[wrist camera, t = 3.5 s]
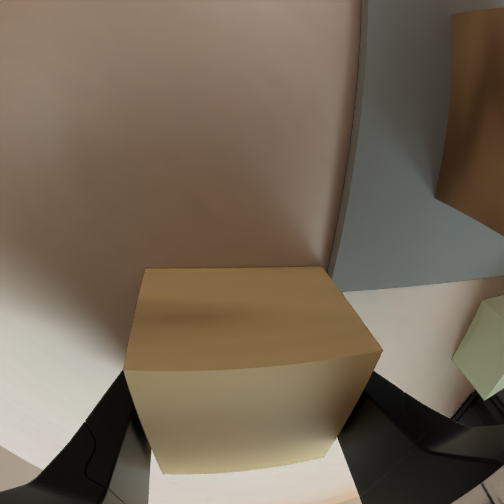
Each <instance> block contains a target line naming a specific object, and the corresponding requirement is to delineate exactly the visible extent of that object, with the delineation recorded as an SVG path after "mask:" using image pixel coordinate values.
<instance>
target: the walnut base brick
mask: <svg viewBox="0 0 504 504" xmlns="http://www.w3.org/2000/svg"><path fill="white" fill-rule="evenodd" d="M451 26H452V72H451V90H450V103H449V113H448V122H447V130H446V137H445V144H444V151H443V157H442V163H441V168H440V173H439V178H438V183H437V188H436V193H435V197H434V198H435V199H437V200H439V201H441V202H443V203H445V204H447V205H449V206H451V207H453V208H454V209H456V210H458V211H460V212H462V213H464V214H466V215H467V216H469V217H471V218H473V219H475V220H476V221H478V222H480V223H482V224H483V225H485V226H487V227H489V228H490V229H492V230H494V231H495V232H497V233H499V234H500V235H502V236H503V237H504V7H503V8H491V9H481V10H473V11H466V12H460V13H454V14H451Z"/></svg>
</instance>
